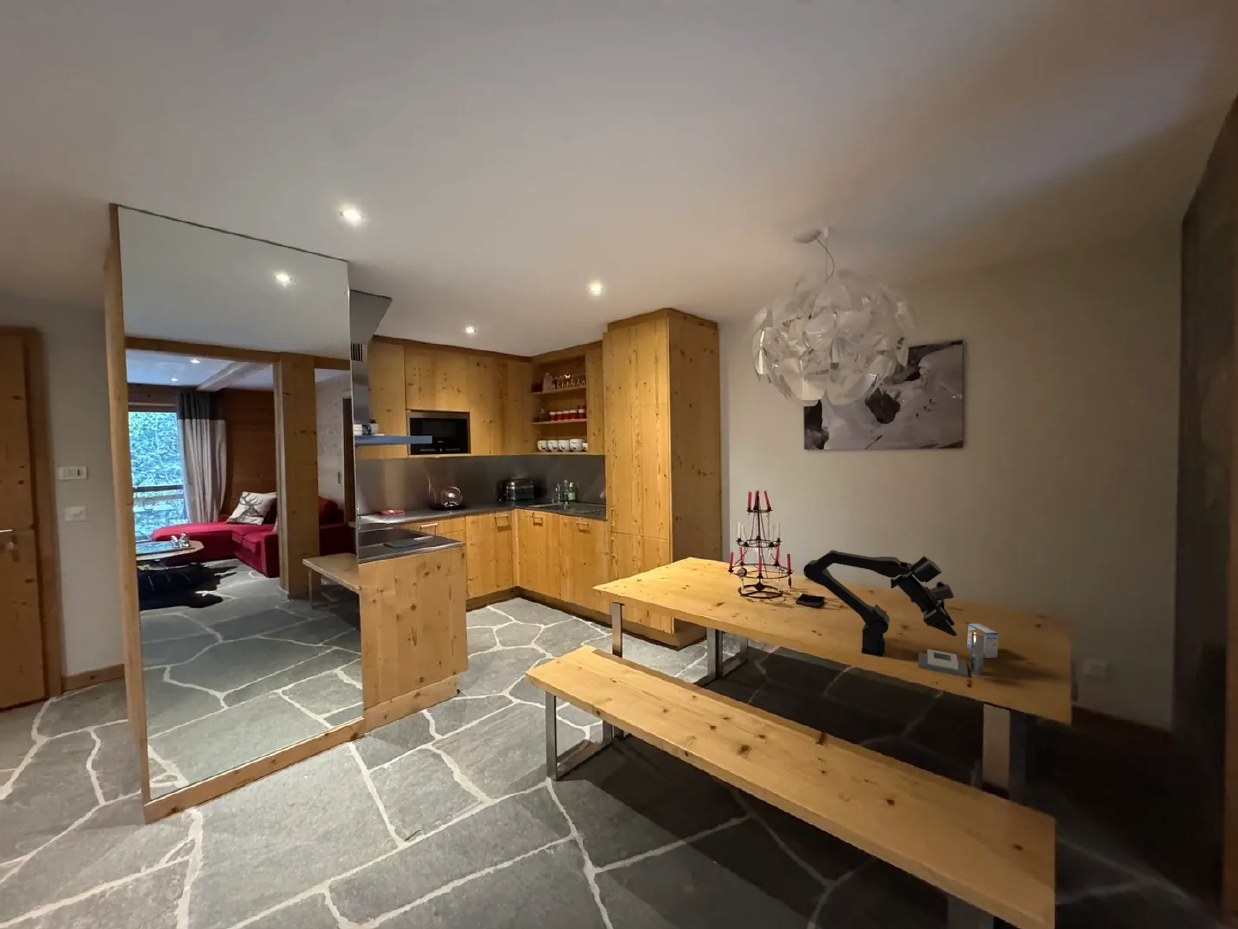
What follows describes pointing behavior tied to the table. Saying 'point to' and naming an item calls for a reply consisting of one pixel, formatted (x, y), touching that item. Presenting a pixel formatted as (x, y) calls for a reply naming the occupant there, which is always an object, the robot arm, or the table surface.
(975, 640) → the steel pin
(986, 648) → the medicine box
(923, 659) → the plate
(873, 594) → the table surface
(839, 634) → the table surface
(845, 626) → the table surface
